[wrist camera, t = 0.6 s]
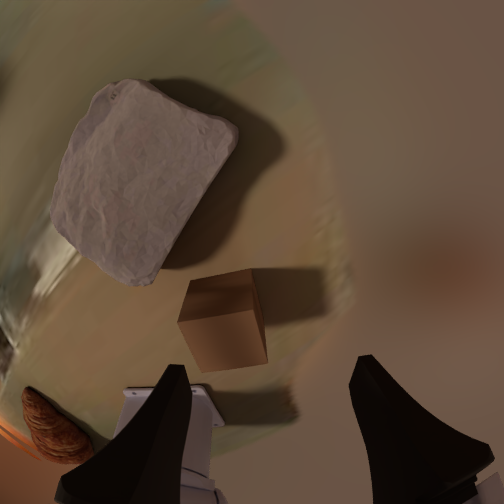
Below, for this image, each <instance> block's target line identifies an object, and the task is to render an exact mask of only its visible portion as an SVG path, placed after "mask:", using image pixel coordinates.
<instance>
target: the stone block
mask: <svg viewBox="0 0 504 504" xmlns="http://www.w3.org/2000/svg"><path fill="white" fill-rule="evenodd" d="M238 141H239V132H238V128H237V127H236V126H235V125H234V124H232V123H231V122H229V121H228V120H227V119H225V118H223V117H220V116H216V115H209V114H206V113H202V112H200V111H198V110H197V109H195V108H190V107H188V106H186V105H184V104H182V103H180V102H178V101H177V100H174V99H172V98H170V97H168V96H167V95H166V94H165V93H163V92H161V91H160V90H159V89H157V88H156V87H155V86H153V85H152V84H151V83H149V82H147V81H146V80H141V79H123V80H122V81H117V82H114V83H110V84H108V85H107V86H105V87H104V88H103V89H101V90H100V91H98V92H97V93H96V94H95V95H94V97H93V99H92V102H91V105H90V108H89V110H88V112H87V114H86V115H85V117H83V118H82V119H81V120H80V121H79V123H78V124H77V126H76V128H75V130H74V132H73V134H72V136H71V139H70V142H69V147H68V149H67V150H66V152H65V155H64V157H63V158H62V163H61V166H60V169H59V179H58V181H57V183H56V184H55V188H54V193H53V198H52V203H51V208H50V211H51V212H50V216H51V220H52V221H53V224H54V226H55V228H56V230H57V231H58V233H60V234H61V235H62V236H63V237H65V238H66V240H67V241H68V242H69V243H70V244H71V245H72V246H74V247H75V248H76V249H77V250H78V251H79V252H80V254H81V255H82V256H84V257H86V258H88V259H90V260H91V261H93V262H95V263H96V264H97V265H98V266H99V268H100V269H101V270H102V271H104V272H106V273H107V274H108V275H109V276H111V277H113V278H114V279H115V280H117V281H119V282H121V283H124V284H126V285H128V286H139V285H141V286H146V285H149V284H152V283H153V281H154V279H155V277H156V275H157V273H158V272H159V270H160V268H161V266H162V264H163V263H164V261H165V259H166V257H167V255H168V254H169V252H170V250H171V249H172V247H173V245H174V243H175V241H176V240H177V238H178V236H179V234H180V233H181V231H182V229H183V228H184V226H185V224H186V223H187V221H188V219H189V218H190V216H191V214H192V213H193V211H194V209H195V208H196V206H197V204H198V203H199V201H200V200H201V198H202V197H203V195H204V194H205V192H206V190H207V189H208V187H209V186H210V184H211V182H212V181H213V179H214V178H215V177H216V175H217V174H218V172H219V171H220V169H221V168H222V166H223V165H224V163H225V162H226V160H227V159H228V157H229V156H230V154H231V153H232V152H233V150H234V149H235V147H236V146H237V143H238Z"/></svg>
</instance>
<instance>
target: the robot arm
mask: <svg viewBox="0 0 504 504" xmlns="http://www.w3.org/2000/svg"><path fill="white" fill-rule="evenodd" d="M349 390H350V396H351V400H352V405H353V408H354V412H355V415H356V418H357V421H358V424H359V427H360V430H361V433H362V436H363V439H364V442H365V446H366V450H367V454H368V460H369V465H370V472H371V480H372V491H373V504H504V487H503V484H502V482H501V479H500V476H499V474H498V472H496V473H494V474H493V475H492V476H490V477H489V478H487V479H486V480H484V481H483V482H481V483H480V484H478V485H477V486H475V483H474V482H476V481H477V477H476V474H477V473H479V472H480V471H482V470H483V469H484V468H486V467H487V466H488V465H490V464H491V463H492V462H493V461H494V459H495V457H494V455H493V453H492V451H491V448H490V446H489V445H488V444H486V443H484V442H481V441H478V440H476V439H473V438H471V437H469V436H467V435H465V434H463V433H460V432H458V431H457V430H455V429H453V428H452V427H450V426H448V425H447V424H445V423H443V422H442V421H440V420H439V419H438V418H436V417H435V416H434V415H432V414H431V413H430V412H428V411H427V410H426V409H424V408H423V407H422V406H421V405H420V404H419V403H418V402H417V401H415V400H414V399H413V398H412V397H411V396H410V395H409V394H408V393H407V392H406V391H405V390H404V389H403V388H402V387H401V386H400V385H399V384H398V383H397V382H396V381H395V380H394V379H393V377H392V376H391V375H390V374H389V373H388V372H387V371H386V370H385V369H384V368H383V366H382V365H381V364H380V363H379V362H378V361H377V360H376V359H375V358H374V357H373V356H372V355H364V356H359V357H358V360H357V363H356V366H355V369H354V372H353V374H352V377H351V380H350V383H349ZM123 393H124V395H125V396H126V399H125V402H124V405H123V408H122V411H121V414H120V417H119V420H118V423H117V426H116V430H115V433H114V437H113V439H112V440H111V441H110V442H109V443H108V444H107V445H106V446H105V447H103V448H102V449H101V450H100V451H99V452H97V453H96V454H95V455H93V456H92V457H91V458H89V459H88V460H87V461H85V462H84V463H83V464H81V465H79V466H78V467H76V468H75V469H73V470H71V471H70V472H68V473H66V474H64V475H62V476H61V478H60V481H59V483H58V487H57V491H56V495H55V498H54V500H55V501H56V502H57V503H59V504H228V503H227V500H226V498H225V496H224V495H223V493H222V492H221V490H219V489H217V488H215V480H212V479H209V467H210V466H209V465H210V452H211V437H212V427H222V426H224V425H225V422H224V420H223V419H222V417H221V416H220V414H219V412H218V411H217V409H216V407H215V405H214V404H213V402H212V400H211V399H210V397H209V395H208V393H207V392H206V390H205V388H204V387H203V386H201V385H195V386H190V383H189V380H188V377H187V373H186V370H185V366H184V365H177V364H170V365H168V367H167V368H166V370H165V372H164V373H163V375H162V377H161V378H160V380H159V381H158V383H157V384H156V386H155V388H126V389H124V390H123Z"/></svg>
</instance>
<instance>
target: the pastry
mask: <svg viewBox="0 0 504 504" xmlns="http://www.w3.org/2000/svg"><path fill="white" fill-rule="evenodd" d="M21 398H22V402H23V416H24V420H25V422H26V424H27V425H28V427H29V429H30V430H31V435H32V440H33V442H34V443H35V445H36V447H37V449H38V451H39V452H40V454H41V455H42V456H43V457H45V458H46V459H48V460H50V461H52V462H56V463H60V464H83V463H84V462H85V461H87V460H88V459H89V458H91V457H92V456H93V455H94V452H93V449H92V446H91V442H90V438H89V436H88V435H87V434H86V433H85V432H83V431H82V430H81V429H79V428H78V427H77V426H76V425H75V424H74V423H73V422H72V421H70V420H69V419H68V418H66V417H65V416H64V415H62V414H61V413H59V412H58V411H56V409H55V408H54V407H53V406H52V405H51V404H50V403H49V402H48V401H47V400H45V399H44V398H43V397H42V396H41V395H40V394H38V393H37V392H34V391H32V390H31V389H30V388H29V387H26V388H25V389H24V390H23V393H22V396H21Z"/></svg>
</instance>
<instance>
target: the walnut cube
mask: <svg viewBox="0 0 504 504" xmlns="http://www.w3.org/2000/svg"><path fill="white" fill-rule="evenodd" d="M177 323H178V326H179V328H180V330H181V332H182V334H183V336H184V338H185V341H186V343H187V345H188V347H189V349H190V351H191V353H192V355H193V357H194V359H195V361H196V363H197V365H198V367H199V369H200V371H201V373H204V372H213V371H221V370H229V369H236V368H243V367H249V366H256V365H262V364H267V363H268V359H267V349H266V339H265V329H264V319H263V314H262V310H261V306H260V302H259V298H258V294H257V290H256V286H255V282H254V278H253V274H252V270H251V268H250V269H245V270H240V271H235V272H230V273H225V274H220V275H215V276H211V277H206V278H200V279H195V280H190V283H189V286H188V289H187V293H186V296H185V299H184V302H183V305H182V308H181V311H180V315H179V318H178V321H177Z"/></svg>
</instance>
